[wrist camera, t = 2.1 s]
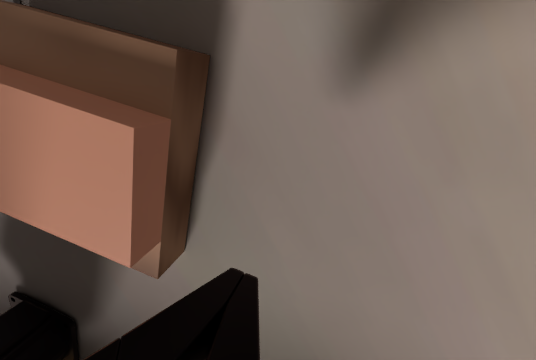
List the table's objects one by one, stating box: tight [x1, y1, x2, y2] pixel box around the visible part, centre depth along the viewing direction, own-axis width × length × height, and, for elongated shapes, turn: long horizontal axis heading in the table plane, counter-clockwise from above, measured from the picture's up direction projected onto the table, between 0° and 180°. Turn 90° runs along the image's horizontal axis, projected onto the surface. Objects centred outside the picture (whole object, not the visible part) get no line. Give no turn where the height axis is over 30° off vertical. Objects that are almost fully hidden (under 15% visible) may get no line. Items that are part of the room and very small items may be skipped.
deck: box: [0, 0, 210, 279], centre depth 13 cm, size 11×10×2 cm
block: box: [0, 65, 171, 268], centre depth 11 cm, size 9×6×2 cm, turn 77°
